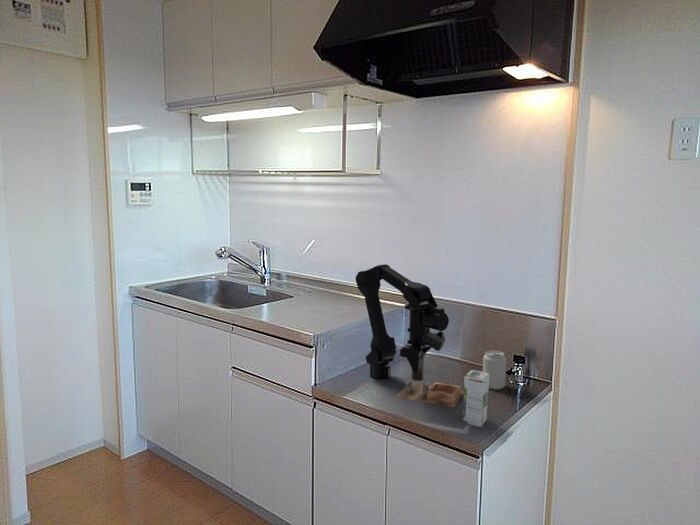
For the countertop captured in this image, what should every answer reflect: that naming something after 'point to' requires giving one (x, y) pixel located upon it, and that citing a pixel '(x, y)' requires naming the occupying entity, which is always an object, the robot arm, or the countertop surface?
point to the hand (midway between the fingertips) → (417, 371)
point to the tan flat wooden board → (432, 393)
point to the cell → (419, 370)
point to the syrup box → (475, 398)
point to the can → (495, 369)
